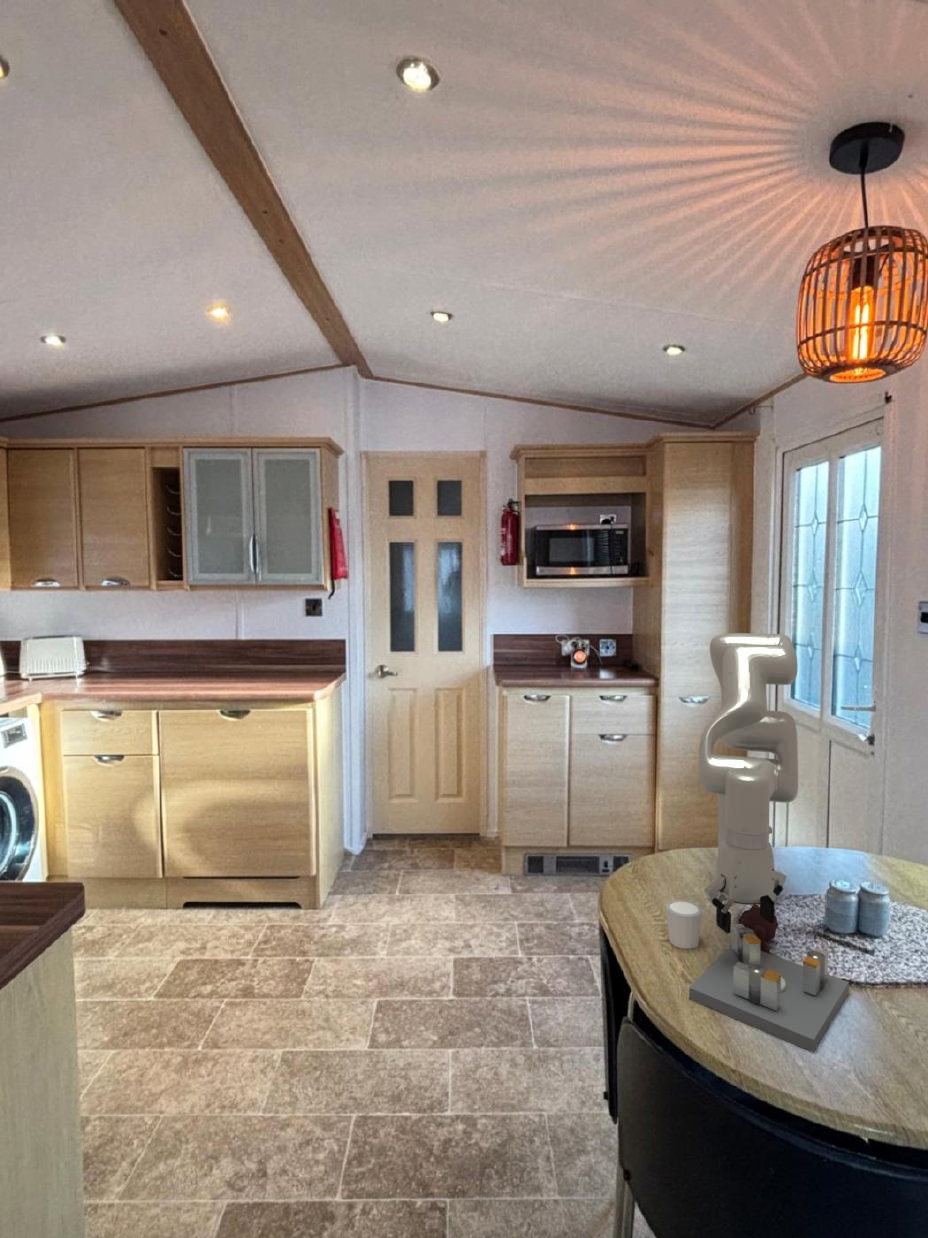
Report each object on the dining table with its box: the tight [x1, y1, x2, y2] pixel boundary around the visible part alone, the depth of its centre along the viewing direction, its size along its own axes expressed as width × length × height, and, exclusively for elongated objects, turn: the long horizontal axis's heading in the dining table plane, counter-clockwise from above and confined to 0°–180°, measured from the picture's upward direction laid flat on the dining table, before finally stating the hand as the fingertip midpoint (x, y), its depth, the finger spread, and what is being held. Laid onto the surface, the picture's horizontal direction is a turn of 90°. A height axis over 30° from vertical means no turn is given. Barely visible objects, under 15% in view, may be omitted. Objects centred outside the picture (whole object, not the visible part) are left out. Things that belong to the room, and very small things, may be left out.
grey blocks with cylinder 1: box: [733, 962, 781, 1011], centre depth 114 cm, size 7×3×5 cm, turn 47°
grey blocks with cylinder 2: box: [802, 947, 829, 996], centre depth 117 cm, size 7×3×5 cm, turn 137°
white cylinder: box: [665, 899, 703, 950], centre depth 136 cm, size 7×7×7 cm
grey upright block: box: [731, 923, 761, 965], centre depth 126 cm, size 7×3×5 cm, turn 4°
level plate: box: [688, 943, 850, 1053], centre depth 118 cm, size 20×20×3 cm
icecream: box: [737, 903, 779, 954], centre depth 136 cm, size 7×7×15 cm
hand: (745, 924), depth 126 cm, fingers open, 9 cm apart
